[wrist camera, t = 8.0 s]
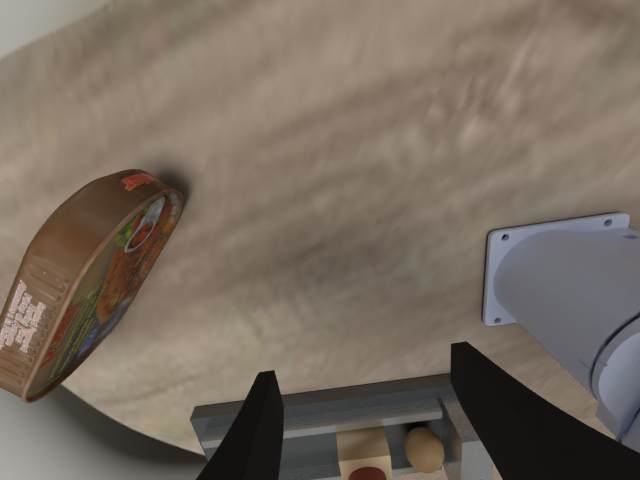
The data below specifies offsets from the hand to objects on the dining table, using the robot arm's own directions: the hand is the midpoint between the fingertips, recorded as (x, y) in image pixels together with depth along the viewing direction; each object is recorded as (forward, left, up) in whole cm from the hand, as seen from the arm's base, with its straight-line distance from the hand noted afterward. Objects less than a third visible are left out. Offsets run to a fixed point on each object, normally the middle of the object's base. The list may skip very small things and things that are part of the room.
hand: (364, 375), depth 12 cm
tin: (+15, -3, -11) cm, 18 cm away
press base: (+3, +17, -10) cm, 20 cm away
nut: (-5, +17, -8) cm, 19 cm away
